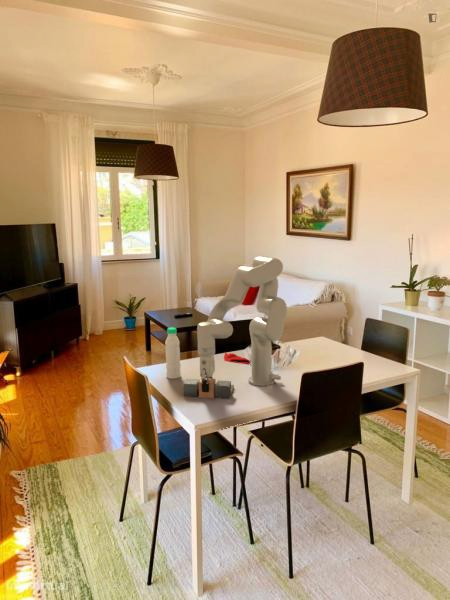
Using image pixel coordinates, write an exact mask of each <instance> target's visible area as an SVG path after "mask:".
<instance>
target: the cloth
mask: <svg viewBox="0 0 450 600" xmlns="http://www.w3.org/2000/svg"><path fill="white" fill-rule="evenodd" d="M223 360H224V362H228V363H234V364H241V365H249V364H250V366H252V363H251V362H249V361H250V359H248V358H246V357H242V356H239V355H237V354H235V353H232V352H229V353H227V352H225V353H224V356H223ZM238 361H240V362H238Z"/></svg>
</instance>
